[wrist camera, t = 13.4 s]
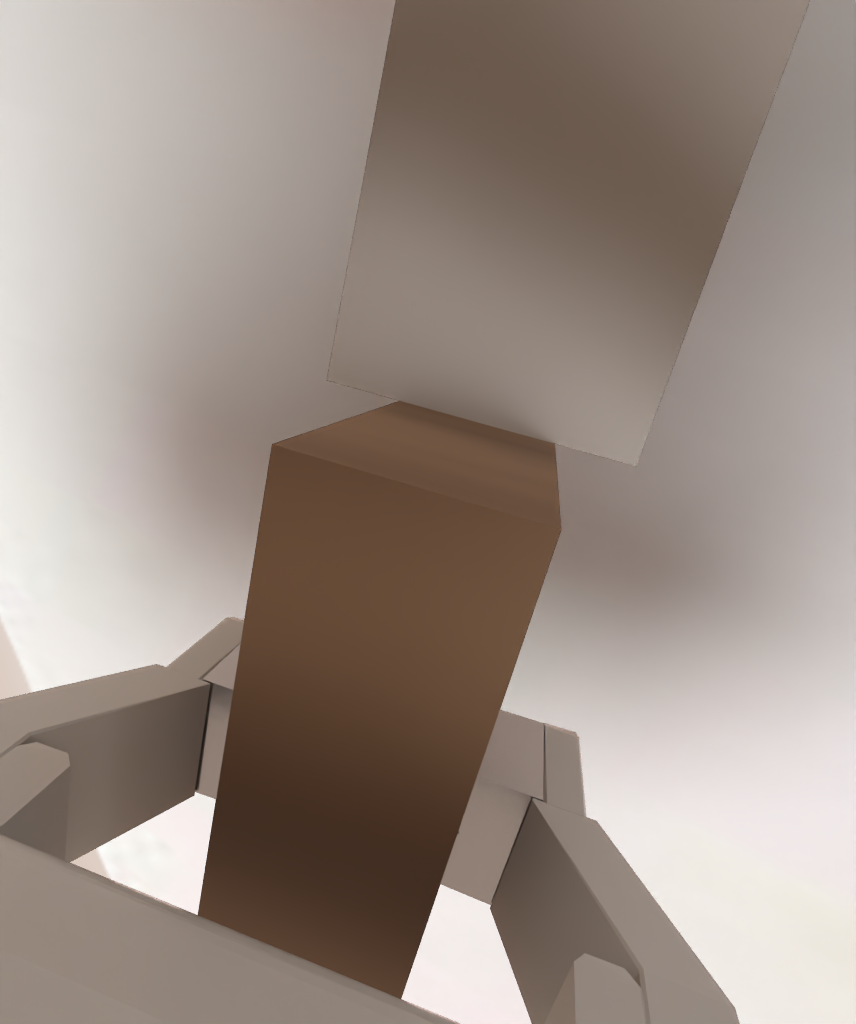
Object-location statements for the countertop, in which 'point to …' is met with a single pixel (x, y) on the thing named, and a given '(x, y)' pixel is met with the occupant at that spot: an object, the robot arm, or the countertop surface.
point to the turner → (466, 430)
